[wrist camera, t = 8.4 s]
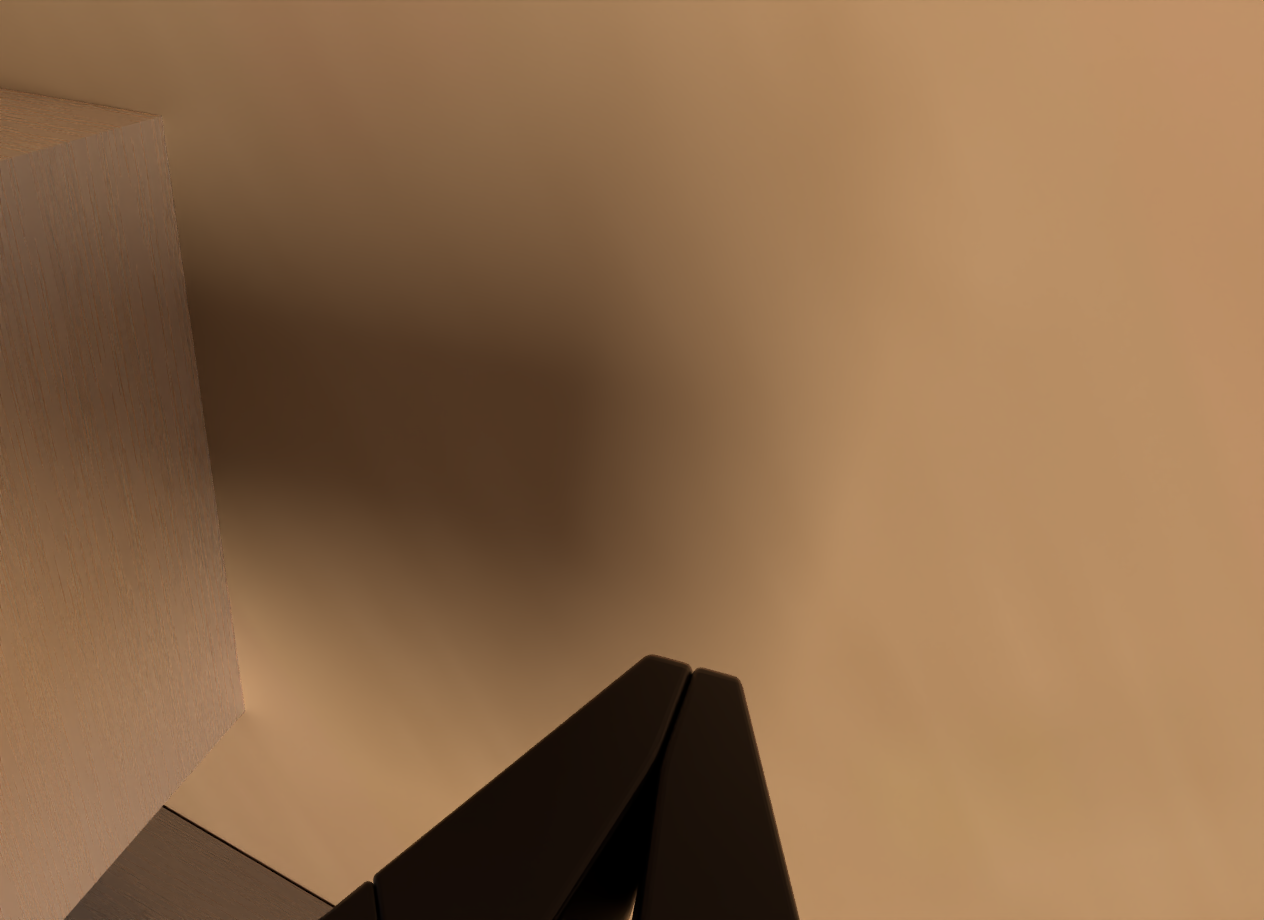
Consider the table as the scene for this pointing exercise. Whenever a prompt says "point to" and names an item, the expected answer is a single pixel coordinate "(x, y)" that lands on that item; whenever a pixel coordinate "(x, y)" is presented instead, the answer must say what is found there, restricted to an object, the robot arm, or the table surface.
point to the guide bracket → (191, 881)
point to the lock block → (98, 503)
